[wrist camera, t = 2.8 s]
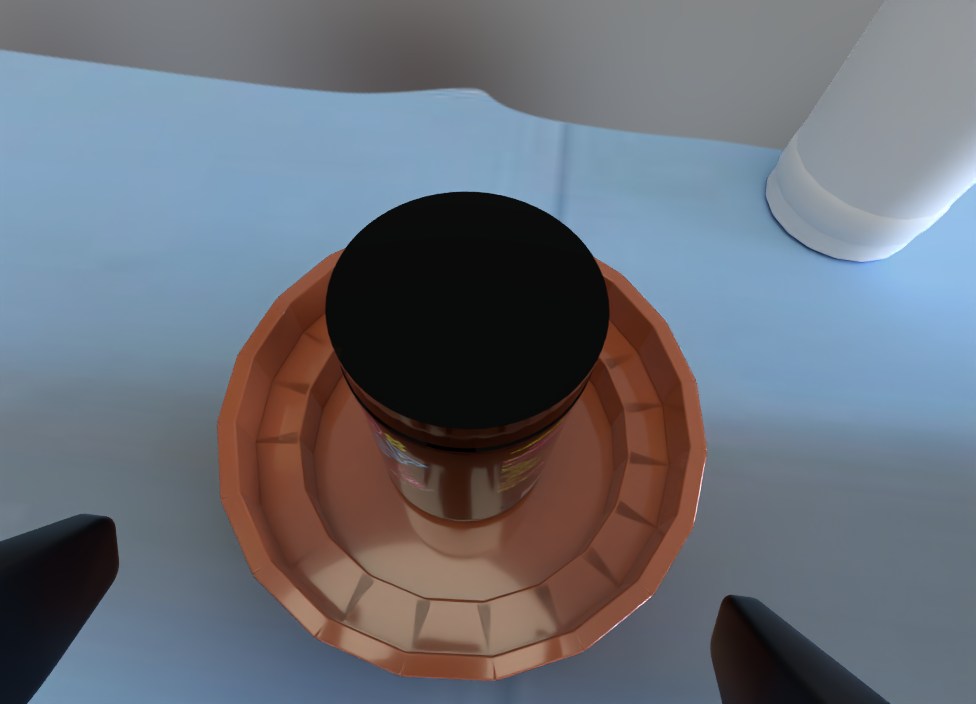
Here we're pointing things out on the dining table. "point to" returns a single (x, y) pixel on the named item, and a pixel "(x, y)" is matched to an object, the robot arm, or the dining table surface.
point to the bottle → (885, 135)
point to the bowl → (448, 543)
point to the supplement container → (466, 344)
